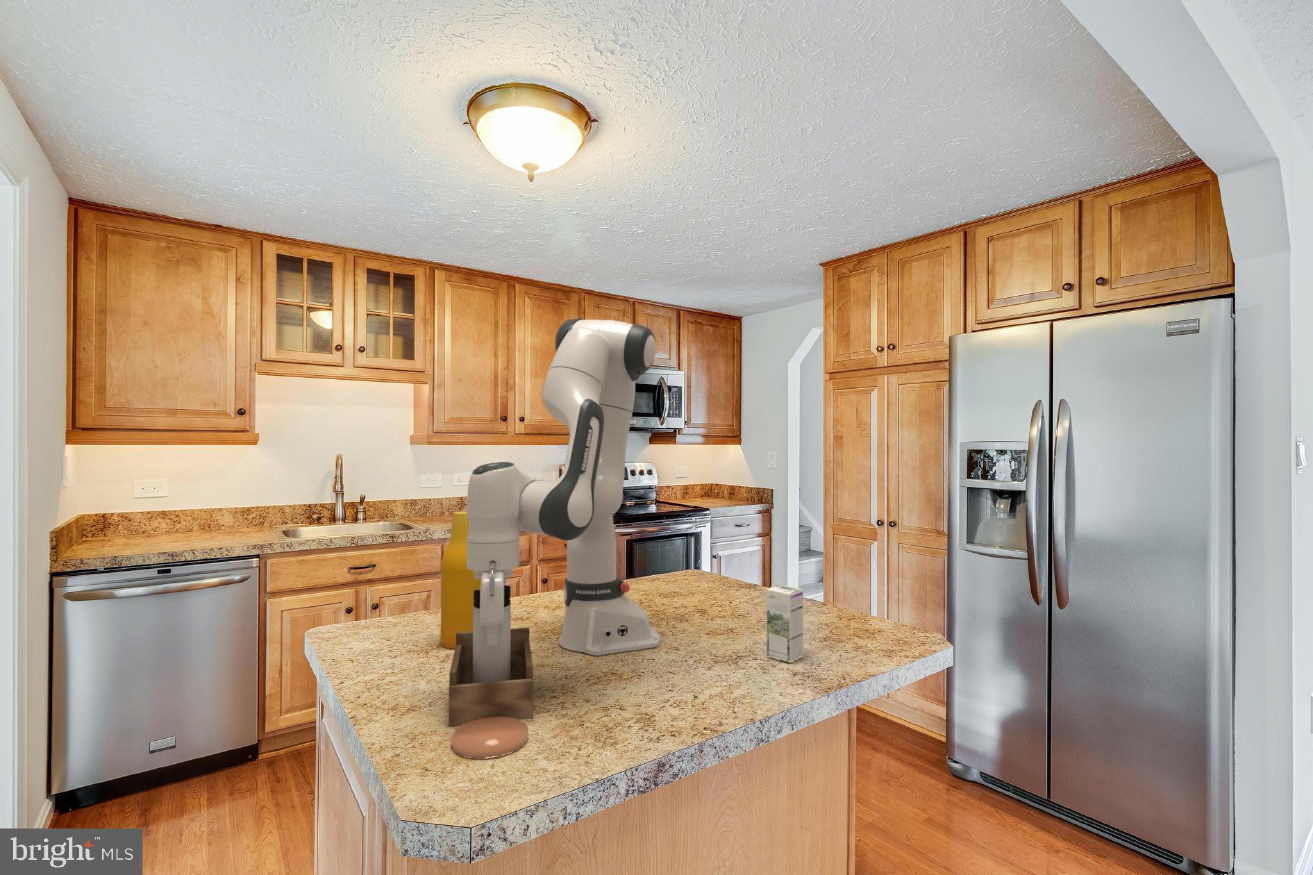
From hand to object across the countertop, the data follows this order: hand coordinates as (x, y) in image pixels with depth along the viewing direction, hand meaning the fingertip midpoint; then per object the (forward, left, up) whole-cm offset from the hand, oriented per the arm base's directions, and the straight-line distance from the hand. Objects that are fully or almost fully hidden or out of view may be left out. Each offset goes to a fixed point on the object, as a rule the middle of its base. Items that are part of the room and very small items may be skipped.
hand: (492, 636), depth 108 cm
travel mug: (0, 0, -11) cm, 11 cm away
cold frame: (0, 0, -11) cm, 11 cm away
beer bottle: (+7, -34, -11) cm, 37 cm away
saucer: (0, +15, -11) cm, 18 cm away
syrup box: (-59, -9, -11) cm, 61 cm away
